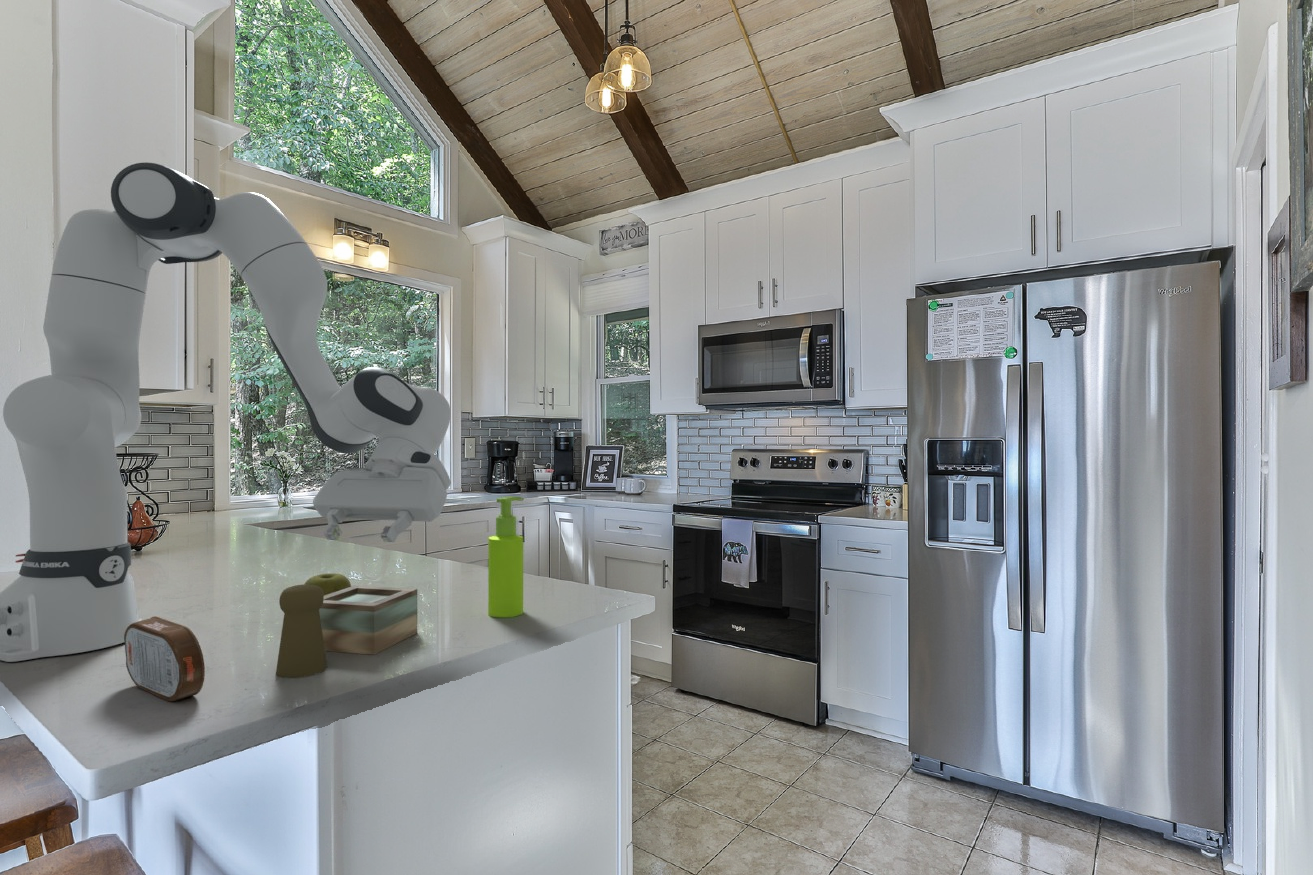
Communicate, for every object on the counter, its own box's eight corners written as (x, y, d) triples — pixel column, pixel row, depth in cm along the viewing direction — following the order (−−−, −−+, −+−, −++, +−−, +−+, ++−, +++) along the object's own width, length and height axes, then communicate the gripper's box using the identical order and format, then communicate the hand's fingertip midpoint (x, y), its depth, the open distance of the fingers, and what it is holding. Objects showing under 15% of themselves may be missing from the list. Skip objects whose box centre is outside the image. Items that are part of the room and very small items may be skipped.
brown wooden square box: (305, 649, 99) (305, 601, 99) (354, 628, 110) (354, 585, 110) (374, 654, 97) (374, 606, 97) (417, 632, 108) (417, 588, 108)
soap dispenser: (533, 609, 122) (533, 496, 122) (509, 619, 116) (509, 499, 116) (506, 606, 124) (506, 494, 124) (481, 615, 118) (481, 497, 118)
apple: (301, 626, 111) (301, 582, 111) (301, 615, 118) (301, 573, 118) (353, 620, 114) (353, 577, 114) (349, 610, 122) (349, 569, 121)
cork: (312, 677, 88) (312, 591, 88) (265, 677, 88) (265, 590, 88) (335, 662, 94) (335, 580, 94) (291, 661, 94) (291, 580, 94)
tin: (207, 701, 80) (207, 628, 80) (177, 710, 77) (176, 635, 77) (148, 676, 88) (148, 610, 88) (119, 684, 85) (118, 616, 85)
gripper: (330, 455, 112) (285, 523, 102) (446, 456, 107) (411, 527, 98) (348, 480, 116) (307, 548, 106) (460, 483, 112) (428, 553, 102)
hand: (358, 538), depth 102 cm, fingers open, 8 cm apart
